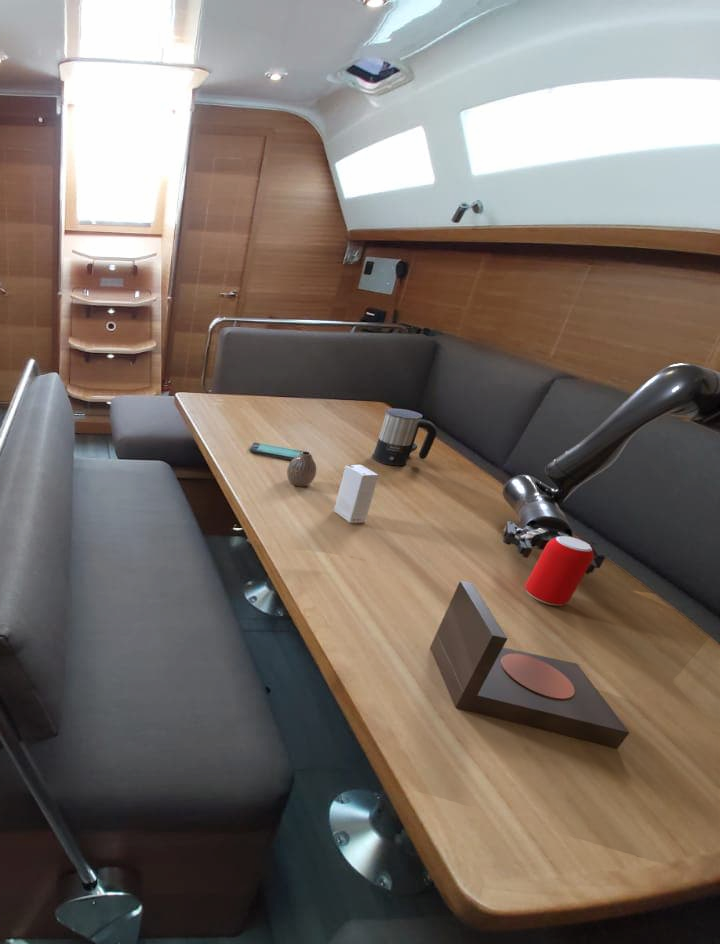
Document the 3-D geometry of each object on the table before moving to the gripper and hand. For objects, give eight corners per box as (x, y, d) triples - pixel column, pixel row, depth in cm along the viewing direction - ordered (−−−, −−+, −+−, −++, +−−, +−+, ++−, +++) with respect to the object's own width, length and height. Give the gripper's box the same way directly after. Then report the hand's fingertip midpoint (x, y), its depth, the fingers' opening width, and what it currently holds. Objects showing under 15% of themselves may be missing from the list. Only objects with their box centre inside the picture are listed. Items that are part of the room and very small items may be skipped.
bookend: (567, 678, 74) (611, 609, 68) (617, 748, 63) (674, 674, 58) (429, 647, 78) (459, 580, 73) (455, 707, 68) (492, 635, 62)
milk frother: (377, 464, 145) (392, 416, 139) (359, 445, 160) (373, 400, 153) (429, 469, 143) (448, 420, 137) (407, 449, 157) (423, 404, 151)
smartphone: (253, 441, 156) (304, 450, 150) (253, 445, 156) (304, 454, 150) (249, 449, 150) (303, 458, 144) (249, 453, 150) (302, 462, 144)
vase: (285, 486, 130) (292, 455, 126) (284, 476, 136) (291, 446, 132) (313, 491, 128) (322, 459, 124) (311, 480, 134) (319, 450, 130)
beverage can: (571, 602, 90) (604, 546, 85) (557, 613, 87) (590, 556, 82) (531, 583, 95) (559, 530, 89) (516, 593, 92) (544, 538, 87)
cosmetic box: (365, 522, 114) (381, 475, 109) (348, 524, 113) (363, 476, 108) (348, 509, 119) (362, 463, 114) (331, 510, 118) (345, 464, 113)
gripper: (507, 498, 104) (516, 531, 92) (598, 519, 97) (621, 557, 85) (493, 529, 108) (500, 564, 95) (580, 551, 101) (599, 592, 88)
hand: (557, 561), depth 90 cm, fingers open, 8 cm apart
